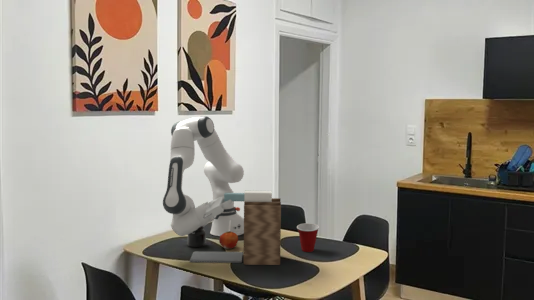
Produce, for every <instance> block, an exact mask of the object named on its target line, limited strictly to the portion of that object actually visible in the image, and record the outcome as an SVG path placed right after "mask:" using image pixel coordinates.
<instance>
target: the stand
mask: <svg viewBox="0 0 534 300" xmlns="http://www.w3.org/2000/svg"><path fill="white" fill-rule="evenodd" d="M243 202H244V201H243ZM281 204H282V202H281V198H278V197H275V198H274V197H272V202H244V204H243V218H244V234H243V265H250V266H251V265H254V266H255V265H257V266H258V265H260V266H261V265H262V266H266V265H268V266H269V265H270V266H272V265H273V266H280V265H281V234H282V233H281V231H282V227H281V226H282V225H281V224H282V219H281V218H282V205H281Z"/></svg>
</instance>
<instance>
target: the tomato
mask: <svg viewBox="0 0 534 300" xmlns="http://www.w3.org/2000/svg"><path fill="white" fill-rule="evenodd" d="M238 242H239V235H237V234H236V233H233V232H231V231H229V232H225V233H223V234H222V235H221V236H219V244H220V246H221V247H222V248H224V249H227V250H229V249H234V248H236V247H237V245H238Z"/></svg>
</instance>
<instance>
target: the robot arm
mask: <svg viewBox="0 0 534 300" xmlns="http://www.w3.org/2000/svg"><path fill="white" fill-rule="evenodd" d="M170 134H171V141H170V161H169V166H168V174H167V176H168V178H167V185H166V191H165V193H164V196H163V197H162V198H163V199H162V206H163V209H164V211H166V213H169V214H171V215H172V220H171V223H170V227H171V229H172V230H173V232H174V234H175V233H176V234H177V236H180V237H184V236H188V234H190V233H192V232H194V231H195V230H197V229H198V228H199V227H201V226H204V227H205V226H206V225H208V224H210V223H211V228H210V232H209V234H210V235H213V236H216V237H220V236H221V235H222V234H223V233H225V232H229V231H231V232H233V233H236V234H237V236H241V235H244V217H243V216H241V215H240V214H238V212H240V210H241V207H239V206H237V207H236V206H235V201H232V200H231V199H229V200H227V201H224V194H225V193H234V191H233V189H232V188H231V187H230V185H229V184H234V183H240V182H241V181H242V179H243V177H244V175H245V173H244V172H245V170H244V168H243V166H242V165H241V164H239V163H238V162H237V161H235V159H234V158H233V157H232V156H231V155H230V153H228V152H227V150H226V148H225V147H224V144H223V143H222V141H221V139H220V137H219V135H218V133H217V131H216V130H215V124H214V122H213V120H212V118H210V117H209V116H206V115H205V116H203V115H201V116H198V117H197V116H195V117H190V118H188V119H184V120H182V121H177V122H176V123H174V124H173V125H172V127H171V129H170ZM195 141H196V143H197V145H198V147H199V149H200V150H201V152H202V154H203V157H204V158H205V160H207V162H206V163H205V164H204V167H203V173H204V175H205V176H206V177H207V179H208V182H209V183H210V187H211V191H212V200H211V201H210V202H209V201H206V202H204V203H201V204H200V205H198V206H195V202H194V200H193V198H192V197H190V196H188V195H187V194H185V193H184V192H183V177H184V176H183V174H184V171H185V170H186V169H189V168H190V167H192V165H193V164H194V162H195Z"/></svg>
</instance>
